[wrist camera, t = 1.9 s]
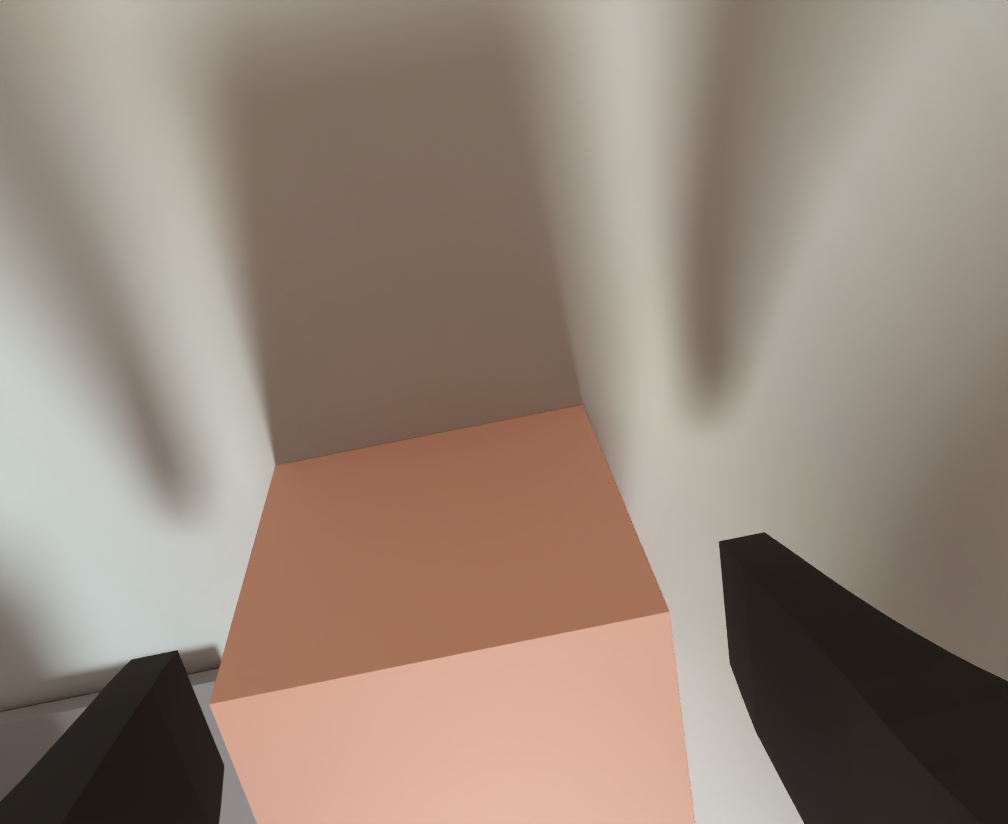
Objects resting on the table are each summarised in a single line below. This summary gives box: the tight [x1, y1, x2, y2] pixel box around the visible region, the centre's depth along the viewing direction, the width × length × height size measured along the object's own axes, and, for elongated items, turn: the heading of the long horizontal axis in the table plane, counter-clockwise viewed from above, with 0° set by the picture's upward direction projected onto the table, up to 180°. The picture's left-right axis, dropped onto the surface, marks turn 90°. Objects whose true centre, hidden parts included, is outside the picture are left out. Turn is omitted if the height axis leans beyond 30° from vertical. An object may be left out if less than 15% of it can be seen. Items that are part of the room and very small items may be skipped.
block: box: [209, 405, 695, 824], centre depth 12 cm, size 4×4×5 cm
